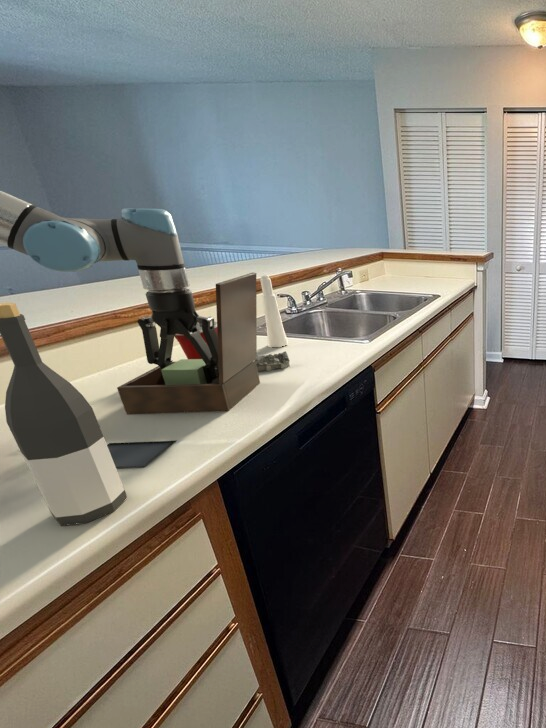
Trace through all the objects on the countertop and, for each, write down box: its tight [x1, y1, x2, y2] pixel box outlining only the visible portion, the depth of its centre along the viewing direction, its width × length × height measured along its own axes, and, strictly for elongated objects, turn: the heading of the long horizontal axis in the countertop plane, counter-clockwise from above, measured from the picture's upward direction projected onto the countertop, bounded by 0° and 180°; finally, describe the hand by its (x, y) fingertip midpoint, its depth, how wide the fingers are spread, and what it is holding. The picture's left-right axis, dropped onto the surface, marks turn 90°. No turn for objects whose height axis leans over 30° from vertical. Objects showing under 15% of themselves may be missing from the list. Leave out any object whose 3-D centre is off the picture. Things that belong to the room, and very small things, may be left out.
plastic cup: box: [174, 320, 218, 359], centre depth 113 cm, size 11×11×12 cm
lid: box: [215, 272, 258, 383], centre depth 91 cm, size 21×16×1 cm
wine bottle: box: [0, 302, 128, 527], centre depth 56 cm, size 8×8×30 cm
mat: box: [106, 440, 177, 470], centre depth 76 cm, size 11×11×1 cm
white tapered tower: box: [259, 274, 290, 348], centre depth 131 cm, size 6×6×22 cm
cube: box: [161, 358, 220, 385], centre depth 94 cm, size 7×7×7 cm
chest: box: [116, 360, 261, 415], centre depth 95 cm, size 20×16×7 cm
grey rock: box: [255, 351, 291, 372], centre depth 114 cm, size 11×8×4 cm
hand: (196, 392), depth 95 cm, fingers closed on cube, 7 cm apart
